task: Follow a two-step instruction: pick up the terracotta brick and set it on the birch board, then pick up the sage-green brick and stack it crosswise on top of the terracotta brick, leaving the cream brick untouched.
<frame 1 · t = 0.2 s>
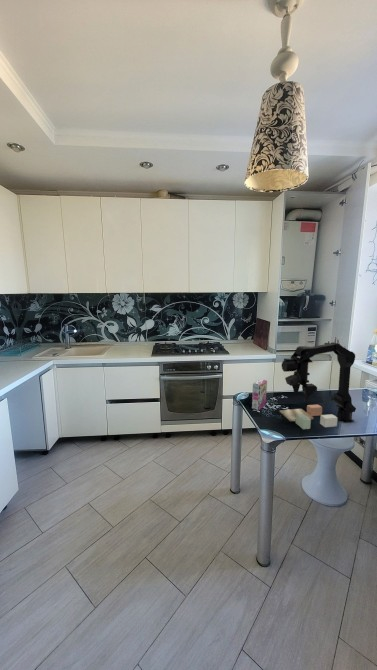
hand: (300, 398, 139), 14 cm above the table, fingers open, 9 cm apart
cream brick: (328, 425, 139), on the table
sage brick: (302, 425, 139), on the table
candy bar box: (259, 407, 163), on the table
terracotta brick: (314, 414, 152), on the table
birch board: (296, 415, 150), on the table
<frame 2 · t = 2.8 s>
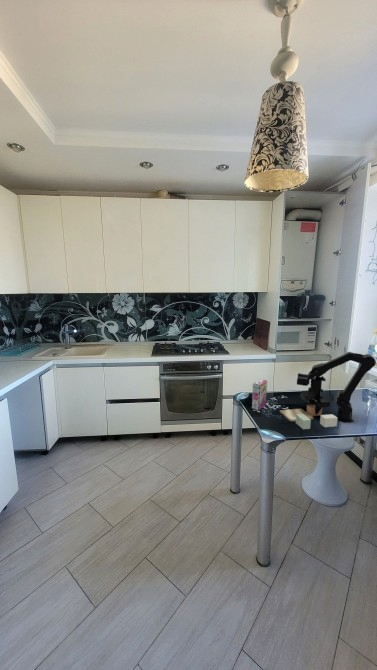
hand: (314, 412, 152), 1 cm above the table, fingers closed on terracotta brick, 4 cm apart
terracotta brick: (314, 414, 152), on the table, touching gripper
everything else where it was.
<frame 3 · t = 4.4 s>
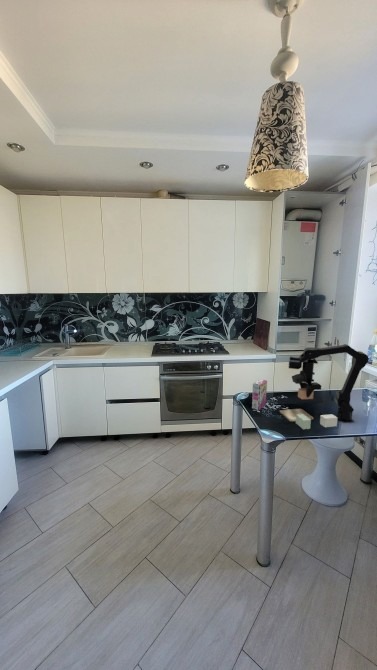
hand: (305, 395, 150), 11 cm above the table, fingers closed on terracotta brick, 4 cm apart
terracotta brick: (305, 397, 150), point 10 cm above the table, touching gripper
everything else where it was.
when the fingers open (3 cm above the table, at t = 6.5 s): terracotta brick drops 1 cm, resting on birch board.
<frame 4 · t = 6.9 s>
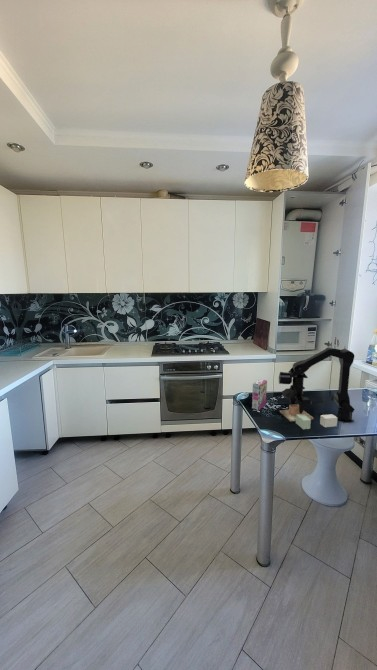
hand: (296, 410, 150), 3 cm above the table, fingers open, 8 cm apart
terracotta brick: (296, 413, 150), point 1 cm above the table, touching birch board
everything else where it was.
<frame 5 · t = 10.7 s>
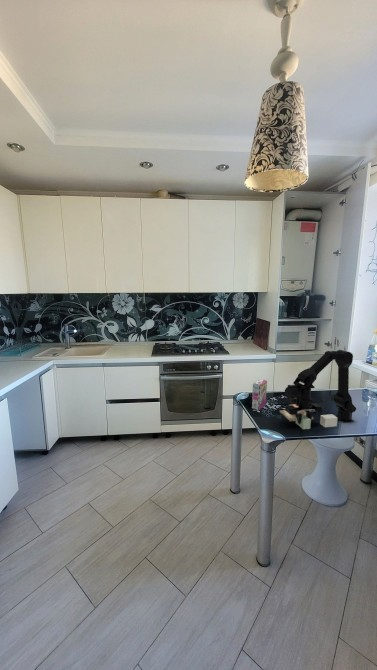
hand: (302, 423, 138), 1 cm above the table, fingers closed on sage brick, 4 cm apart
sage brick: (302, 425, 138), on the table, touching gripper
everything else where it was.
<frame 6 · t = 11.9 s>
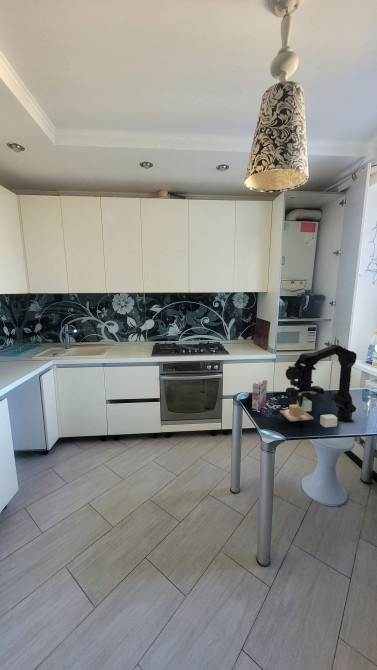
hand: (303, 406, 137), 11 cm above the table, fingers closed on sage brick, 4 cm apart
sage brick: (303, 408, 137), point 10 cm above the table, touching gripper
everything else where it was.
when the fingers open (8 cm above the table, at t = 13.6 s): sage brick drops 1 cm, resting on terracotta brick.
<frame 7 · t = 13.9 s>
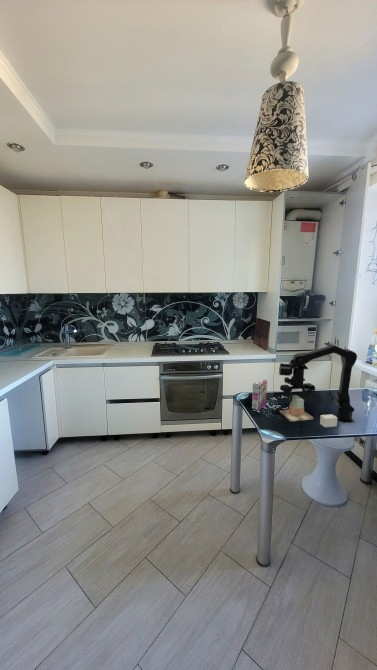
hand: (296, 402, 149), 8 cm above the table, fingers open, 7 cm apart
sage brick: (296, 405, 149), point 6 cm above the table, touching terracotta brick
terracotta brick: (296, 413, 150), point 1 cm above the table, touching birch board, sage brick
everything else where it was.
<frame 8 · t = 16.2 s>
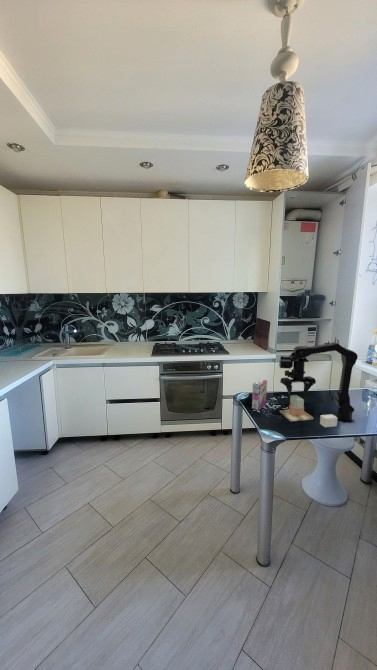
hand: (297, 395, 148), 12 cm above the table, fingers open, 9 cm apart
nothing on the table moved.
at the end: terracotta brick inside the target area on the birch board (0.0 cm from its centre), point 1.0 cm above the birch board's base; sage brick 0.0 cm off-centre on the terracotta brick, point 5.0 cm above the terracotta brick's base; cream brick moved 0.2 cm from its start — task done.
